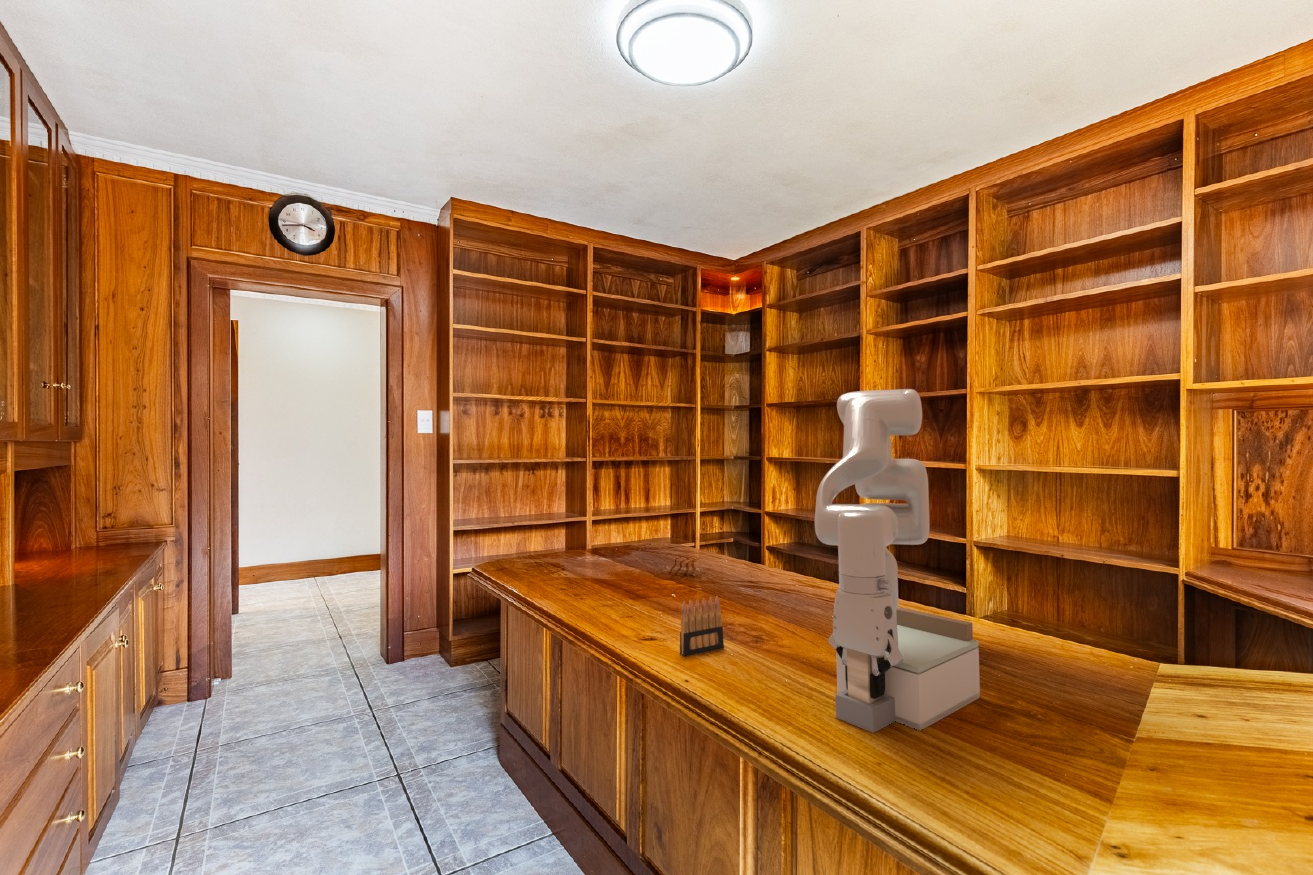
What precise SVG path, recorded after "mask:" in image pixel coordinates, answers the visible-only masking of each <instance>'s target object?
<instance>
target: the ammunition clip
mask: <svg viewBox="0 0 1313 875" xmlns="http://www.w3.org/2000/svg"><path fill="white" fill-rule="evenodd" d="M700 604H701V605H700ZM694 605H695V606H694ZM680 629H681V630H680V632H679V655H681V656H683V657H690V656H694V655H698V654H704V653H709V652H713V651H718V650H723V649H724V648H725V643H724V641H725V640H724V631H723V630H724V627H723V626H722V613H721V604H720V599H719V596H718V595H716V597H715V600H714V602H713V598H712V597H711V596H709V598H708V603H707V601H706V598H704V597H703V598H702V601H701V603H700V601H699V599H698V598H696V601H695V604H693V600H692V599H690V600H689V602H688V607H687V604H686V601H685V600H684V601H683V602H682V605H681V619H680Z"/></svg>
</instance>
